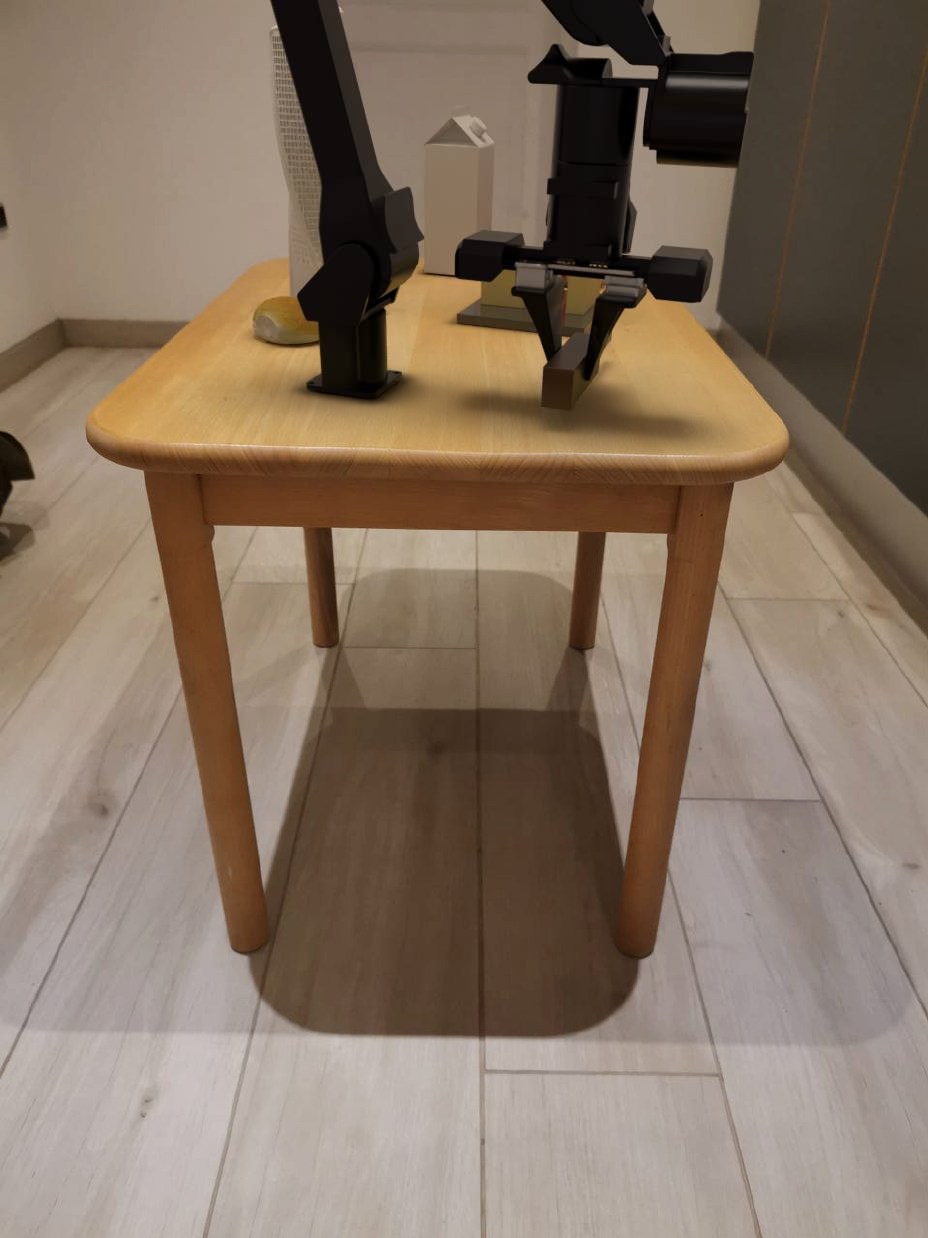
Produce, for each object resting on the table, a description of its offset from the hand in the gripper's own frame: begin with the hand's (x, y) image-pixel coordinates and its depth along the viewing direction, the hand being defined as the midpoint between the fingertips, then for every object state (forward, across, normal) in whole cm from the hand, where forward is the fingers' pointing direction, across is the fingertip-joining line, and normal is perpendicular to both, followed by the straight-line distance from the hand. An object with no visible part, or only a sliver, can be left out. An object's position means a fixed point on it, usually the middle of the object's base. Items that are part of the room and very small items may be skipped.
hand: (572, 377), depth 71 cm
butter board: (+3, +11, -30) cm, 32 cm away
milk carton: (+3, +27, -47) cm, 54 cm away
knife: (+1, 0, -5) cm, 5 cm away
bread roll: (+3, +31, -11) cm, 33 cm away
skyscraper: (+3, +34, -22) cm, 41 cm away
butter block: (+2, +14, -31) cm, 34 cm away
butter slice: (+2, +6, -31) cm, 32 cm away
